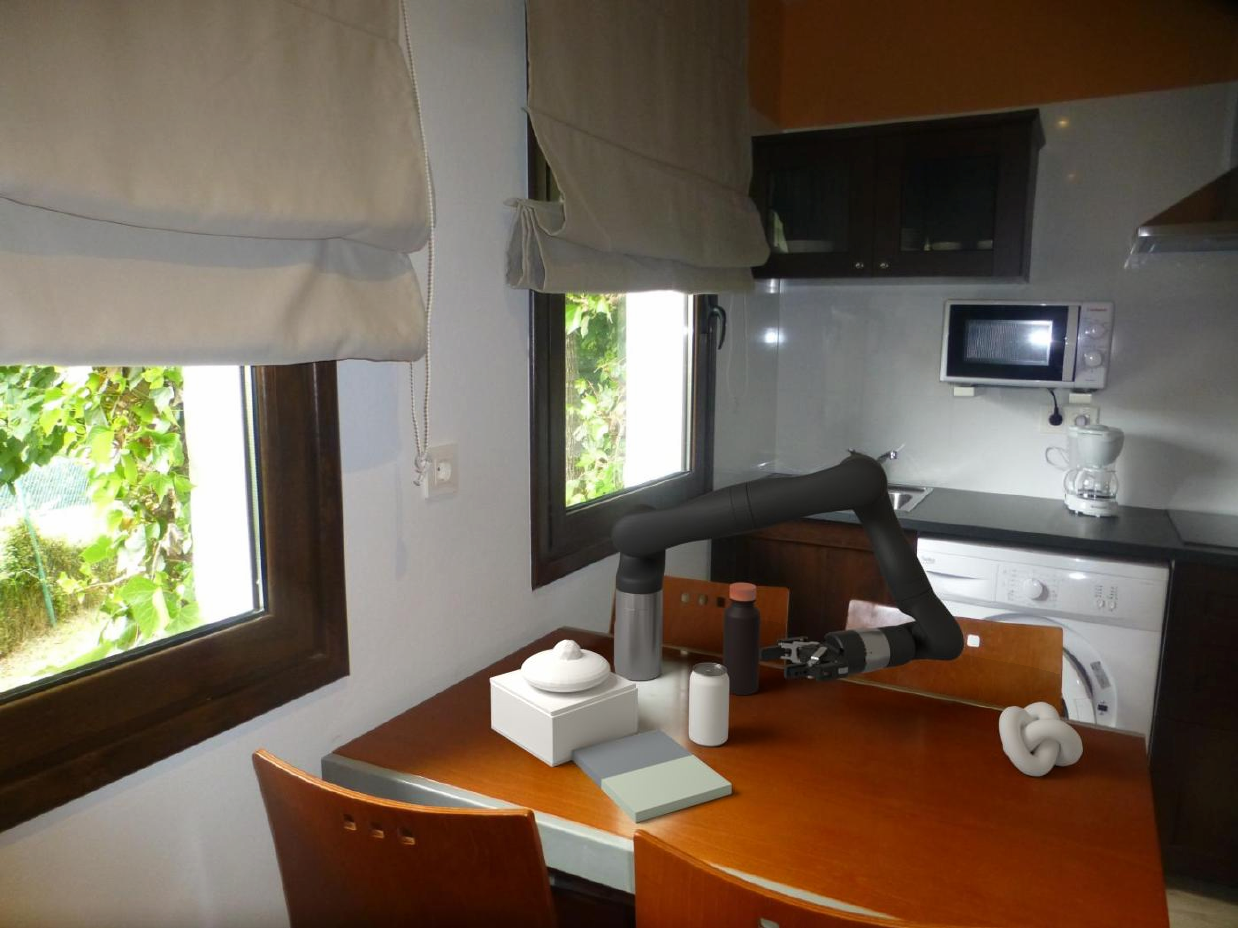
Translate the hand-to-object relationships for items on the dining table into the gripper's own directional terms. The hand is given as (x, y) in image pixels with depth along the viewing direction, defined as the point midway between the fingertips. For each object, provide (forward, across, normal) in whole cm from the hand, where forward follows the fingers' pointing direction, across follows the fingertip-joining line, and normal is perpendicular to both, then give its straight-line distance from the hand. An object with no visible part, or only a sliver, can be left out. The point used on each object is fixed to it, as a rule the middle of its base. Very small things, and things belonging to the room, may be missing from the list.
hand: (772, 663), depth 142 cm
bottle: (-3, -17, +12) cm, 21 cm away
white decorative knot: (-32, +23, +13) cm, 42 cm away
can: (+12, 0, +12) cm, 16 cm away
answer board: (+25, +8, +11) cm, 29 cm away
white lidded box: (+34, -11, +12) cm, 37 cm away
